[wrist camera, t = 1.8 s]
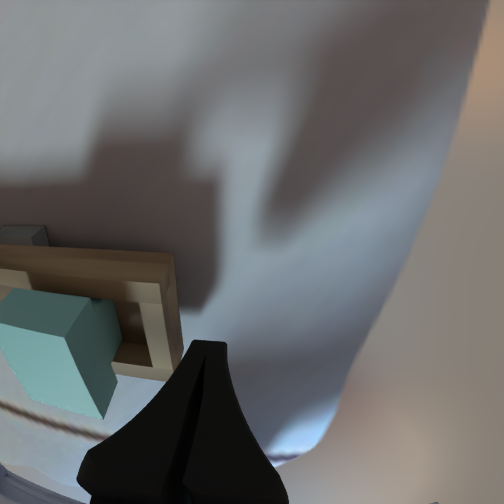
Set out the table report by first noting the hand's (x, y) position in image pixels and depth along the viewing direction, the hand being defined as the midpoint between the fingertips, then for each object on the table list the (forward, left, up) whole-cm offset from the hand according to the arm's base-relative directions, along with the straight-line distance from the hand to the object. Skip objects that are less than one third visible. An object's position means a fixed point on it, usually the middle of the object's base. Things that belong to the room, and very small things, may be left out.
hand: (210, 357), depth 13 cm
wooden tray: (0, +12, -5) cm, 13 cm away
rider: (0, +7, -2) cm, 7 cm away
